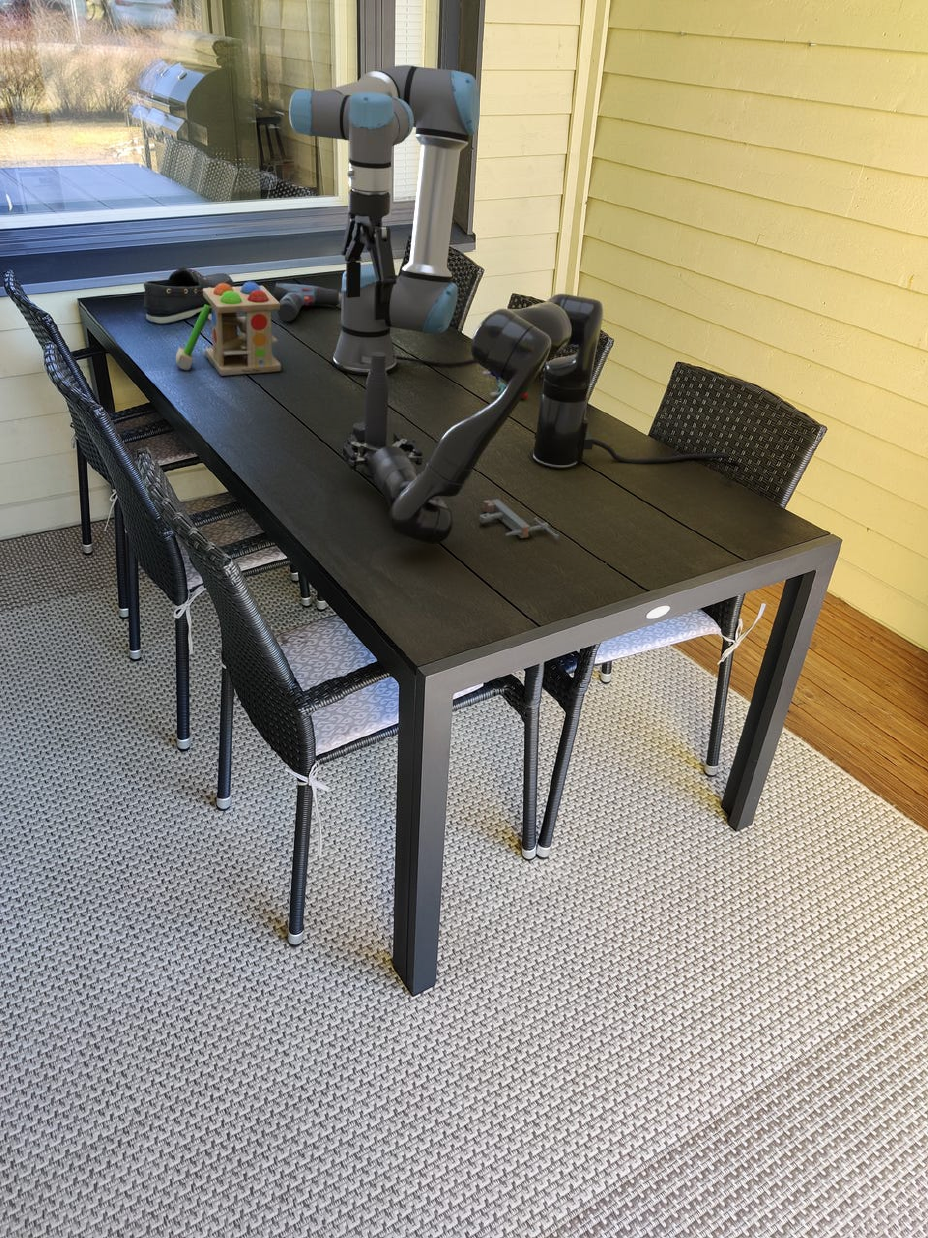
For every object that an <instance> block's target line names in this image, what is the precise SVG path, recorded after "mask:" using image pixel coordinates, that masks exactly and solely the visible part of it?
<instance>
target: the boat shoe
mask: <svg viewBox="0 0 928 1238" xmlns="http://www.w3.org/2000/svg"><path fill="white" fill-rule="evenodd" d="M221 283H226V284H228V285H230V286H231V287H235V283H234V280H233V279H232V278H231V276H230V275H229V274H227V273H224V272H223V273H222V272H221V273H214V274H208V275H205V276H204V275H203V274H201V273H200V272H199V271H197V270H195V269H191V268H187V267H180V268H177V269H176V270H174V271H173V272H172V273H171V274H170V275H169V277H167V278H166V279H161V280H147V281H144V282H143V288H144V289H143V290H144V304H143V308H144V309H145V310H146V311H145V316H146V317H145V318H146V320H147V321H149V322H151V323H155V324H169V323H174V322H178V321H180V320H184V319H188V318H191V317H194V315H196V314H197V313H201V311H202V309H203V307H204V305H208V306H210V307H211V305H210V304H209V302H208V301H207V300H206V299H205V297H204V296H203V289H204V288H215V287H216V286H217V285H218V284H221Z"/></svg>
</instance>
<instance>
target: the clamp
mask: <svg viewBox="0 0 928 1238" xmlns="http://www.w3.org/2000/svg"><path fill="white" fill-rule="evenodd" d="M482 506H483V507H482V512H484V513H482V514H479V516H478V517H479V519H478V520H479V522H480V523H482V524H485V523H491V522H492V521H493V520H497V519H498V520H500V521H501V522H502V523H503V524H504V525H506V526H507V527H508V528H509V529H510V530H511V531H509V532H505V533H504V536H505V537H509V536H518V537H519V538H521V539H525V538H529V535H530V534H529V533H531V532H535V531H546V532H547V533H548V534H550V535H552V536H553V537H554V540H559V538H560V534H558V533H557V534H556V533H555V532H554V531H553V530H552V529H550V528H549V527H550V525H549V523H548V522H542V521H540V520H539V518H538V517H537V516H536V517H534V518H533V520H532V521H533V523H537V524H538V525H534V526H531V525H529V524H528V523H527V522H526V521H525V520H523V519H522V517H520V516H519V515H518V514H516V513H515V512H514V511H512V509H510V508H509V507H508V506H507V505H506V504H504V502H502V501H501V500H500V499H499V498H497V499H492V500H490V499H488V500H484V501H483V505H482Z"/></svg>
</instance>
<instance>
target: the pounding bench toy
mask: <svg viewBox="0 0 928 1238" xmlns="http://www.w3.org/2000/svg"><path fill="white" fill-rule="evenodd" d="M203 296H204V297H205V299H206V300H207V301H208V302H209V304H210V305H211V307H210V306H208V305H204V307H203V309H202V311H200V313H199V316H198V318H197V320H196V322H195V324H194V327H193V329H192V331H191V332H190V333H191V334H190V336H189V338H188V340H187V343H186V344H185V347H184V348H182V347H180V346H179V347H178V349H177V351H176V354H175V357H174V358H175V362H176V365H177V366H178V368H179V369H182V370H185V371H189V370H190V369H191V367H192V365H193V363H194V356H193V351H194V348H195V347H196V345H197V342H198V340H199V337H200V336H201V333H202V332H203V329H204V326H205V325H206V322H207V320H209V321H210V322H211V336H212V337H211V338H212V339H211V340H212V348H205V349H204V352H205V353H204V355H205V357H206V359H208V361H209V363H210V364H211V365H212V366H213V367H214V369H215V370H216V371H217V372H218V374H219V375H220V376H222V377H223V376H234V375H235V376H236V375H246V374H247V375H250V374H262V373H275V372H281V370H282V364H281V363H280V362H279V360H278V359H277V358H276V357H275V356H274V355H273V348H272V347H273V345H272V344H276V343H278V342H279V341H278V339H277V338H276V337H275V336H274V334H272V311H278V310H280V302H278V301H277V300H276V299H275V296H273V295H272V294H271V293H270V292H269V290H268V289H267V288H266V287H264V285H259V284H257V283H256V282H255V281H247V282H245V283H244V284H243V285H242V286H234V287H231V286H230V285H228V284H226V283H221V284H218V285H217V286H216V287H215V288H204V289H203ZM238 313H244V314H245V315H244V316H238ZM238 329H239V331H240V333H239V334H238Z"/></svg>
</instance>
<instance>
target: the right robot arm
mask: <svg viewBox="0 0 928 1238" xmlns="http://www.w3.org/2000/svg"><path fill="white" fill-rule="evenodd" d="M603 320H604V306H603V303H602V302H601V300H599V299H595V298H591V297H590V298H589V297H585V296H579V295H574V294H569V293H557V294H554V295H552V296H551V297H549V298H547V300H546V301H544V302H540V303H535V304H532V305H529V306H528V307H523V308H518V309H517V308H516V309H514V308H499V309H497V310H494V311H492V312H491V313H490V314H488V315H487V316H486V317H485V318H483V320H482V321H481V322H480V323H479V325H478V326H477V327H476V330H475V331H474V333H473V335H472V338H471V344H470V353H471V357H472V359H475V362H476V363H477V364H479V366H480V367H482V368H484V369H485V370H486V371H487V372H491V373H493V374H495V375H496V376H498V377H499V379H500V380H502V381H504V382H505V383H506V384H505V385H506V386H505V388H504V389H503V391H502V392H501V393H500V395H498V396H497V397H495V399H493V401H491V402H490V403H489V404H487V405H486V406H484V407H483V408H481V409H479V410H477V411H476V412H474V413H472V414H471V415H469V416H466V417H465V418H463V419H461V420H460V421H458V422H456V423H454V424H453V425H452V426H450V427H449V428H448V429H447V430H446V431H445V432H444V433H443V434H442V435H441V436H440V438H439V440H438V442H437V443H436V446H435V447H434V450H433V451H432V453H431V455H430V457H429V459H428V460H427V462H426V464H425V466H424V468H423V469H422V470H421V471H420V472H419V471H418V469H417V468H416V466H422V465H423V450H422V448H421V446H420V444H419V442H418V441H417V440H416V439H411V440H410V441H408V440H407V439H406V438H405V437H404V436H403V434H402V433H401V434H400V433H399V431H394V432H393V444H392V445H386V446H384V447H378V446H377V447H375V446H372V445H370V444H367V443H365V442H364V443H360V442H359V441H358V440H357V439H356V437H355V435H353V434H350V435H349V437H347V443H343V444H342V458H343V460H344V462H345V463H346V465H347V466H348V468H349V469H350V470H356V469H357V466H361V465H363V466H364V465H365V466H366V467H368V468H369V470H370V473H371V475H372V479H373V480H374V482H375V485H376V487H377V488H378V490H379V491H380V493H381V494H382V496H384V498H385V499H386V501H387V503H388V505H389V507H390V509H389V511H388V512H389V513H388V523H389V527H390V528H391V531H393V532H394V533H396V534H397V535H400V536H403V537H407V538H410V539H413V540H416V541H419V542H423V543H426V544H430V545H438V544H441V543H443V542H444V541H446V540H447V539H448V538H449V536H450V535H451V532H452V530H453V524H454V521H453V520H454V519H453V515H452V511H451V509H450V507H449V506H448V505H447V503H446V502H445V500H443V499H442V498H441V497H444V498H445V497H447V498H452V497H453V498H454V497H456V496H458V495H459V494H460V493H461V491H462V490H463V489H464V487H465V485H466V483H467V481H468V480H469V478H470V476H471V474H472V472H473V470H474V468H475V467H476V466H477V463H478V461H479V460H480V458H481V456H482V455H483V453H484V451H485V450H486V449H487V447H488V445H489V444H490V443H491V441H492V440H493V438H494V437H495V436H496V435H497V433H498V432H499V431H500V429H501V428H502V427H503V425H504V424H505V422H506V421H507V420H508V418H509V417H510V415H511V414H512V413H513V411H514V410H515V408H516V407H517V406H518V404H519V403H520V401H521V400H522V397H523V396H524V394H525V393H526V394H527V391H528V390H529V389H530V387H531V386H532V384H533V383H534V382H535V380H536V378H537V377H538V376H539V374H540V372H541V370H542V369H543V367H544V372H543V379H542V386H541V387H542V388H541V395H540V403H539V410H538V417H537V418H538V419H537V423H536V424H537V426H536V432H535V434H534V438H533V440H534V446H533V452H532V459H533V461H535V462H536V463H537V464H538V465H540V466H542V467H546V468H550V469H555V470H556V469H557V470H565V469H571V468H574V467H577V465H582V462H583V456H584V451H588V450H589V451H590V450H593V446H594V445H595V446H598V447H600V448H602V449H604V450H606V451H607V452H608V454H610V456H611V457H612V458H613V459H614V460H615V461H618V462H619V463H624V464H636V465H637V464H641V465H643V464H644V465H645V464H654V463H671V462H676V461H682V460H692V459H695V460H697V459H699V460H700V459H701V460H702V459H703V460H706V459H724V460H728V461H730V462H732V463H733V464H734V466H738V467H741V466H742V465H741V463H740V461H739V460H738V461H739V462H738V461H733V460H729V459H727V455H728V454H727V453H719V452H718V453H717V452H716V453H687V454H680V455H674V456H668V457H667V456H665V457H650V458H638V459H637V458H626V457H623V456H621V455H618V454H617V453H616V452H615V451H614V450H613V448H612V447H611V446H609V445H608V444H606V443H605V442H603V441H600V440H598V439H595V438H593V437H592V435H590V434H589V433H588V431H587V430H588V424H589V420H588V418H586V413H587V405H588V400H589V393H590V388H591V387H590V386H591V382H592V376H593V375H592V374H593V370H594V365H595V364H594V363H595V358H596V353H597V347H598V343H599V340H600V339H599V338H600V335H601V330H602V326H603V325H602V324H603ZM566 347H571V348H576V349H577V352H576V353H574V354H571V355H568V356H561V357H556V356H557V355H559V354H560V353H562V352H563V351H564V350H565V348H566ZM554 357H555V358H554ZM549 359H550V360H549ZM547 360H549V361H547ZM546 362H547V363H546ZM545 363H546V364H545ZM367 450H369V451H368V452H367ZM408 452H409V453H408ZM726 454H727V455H726ZM415 465H416V466H415Z"/></svg>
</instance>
